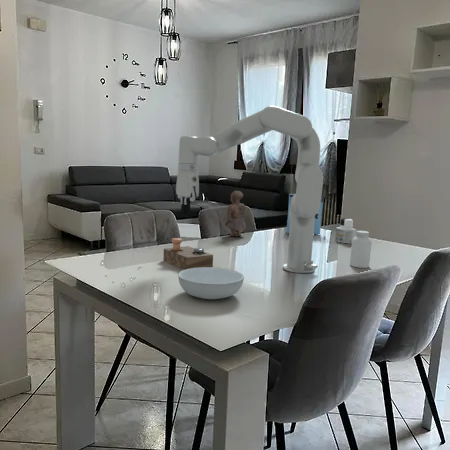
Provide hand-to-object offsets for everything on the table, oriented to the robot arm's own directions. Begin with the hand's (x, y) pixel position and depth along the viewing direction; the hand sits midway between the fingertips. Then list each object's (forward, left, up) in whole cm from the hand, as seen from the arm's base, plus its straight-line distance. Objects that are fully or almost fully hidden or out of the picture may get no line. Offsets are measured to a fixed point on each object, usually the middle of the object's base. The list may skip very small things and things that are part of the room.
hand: (185, 214), depth 184 cm
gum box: (+31, -103, -20) cm, 110 cm away
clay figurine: (+40, -59, -20) cm, 74 cm away
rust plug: (+3, +2, -16) cm, 16 cm away
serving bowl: (-39, +15, -20) cm, 47 cm away
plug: (-5, -4, -19) cm, 20 cm away
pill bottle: (-37, -65, -20) cm, 78 cm away
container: (+2, -105, -20) cm, 107 cm away
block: (-1, -1, -20) cm, 20 cm away
